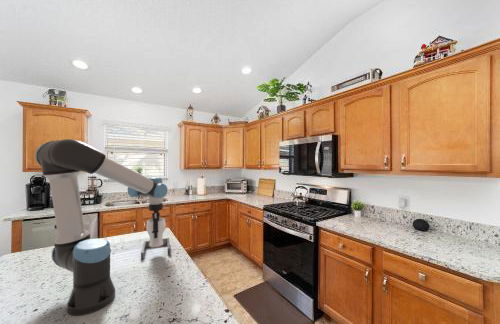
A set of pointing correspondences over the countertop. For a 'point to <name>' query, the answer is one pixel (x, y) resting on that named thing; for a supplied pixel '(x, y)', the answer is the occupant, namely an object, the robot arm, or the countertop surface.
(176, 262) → the countertop surface
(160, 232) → the cup
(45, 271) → the countertop surface
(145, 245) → the channel
